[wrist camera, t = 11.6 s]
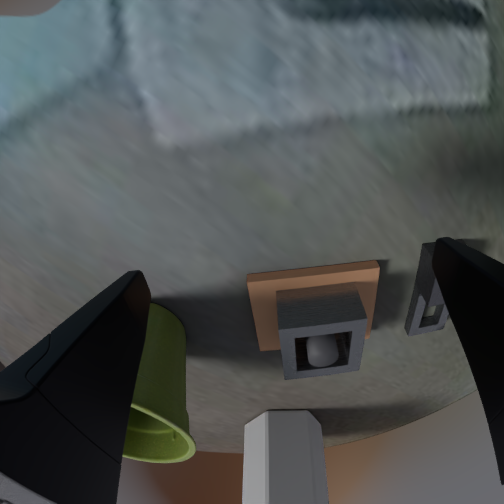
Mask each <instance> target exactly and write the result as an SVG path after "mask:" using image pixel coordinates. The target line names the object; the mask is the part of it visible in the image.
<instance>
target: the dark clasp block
mask: <svg viewBox="0 0 504 504" xmlns="http://www.w3.org/2000/svg"><path fill="white" fill-rule="evenodd" d="M456 241H458V242H460V243H462V244H465V242H464V241H463V240H462V239H459V240H456ZM465 245H466V244H465ZM434 247H435V242H434V243H426V244H422V250H421V256H420V261H419V266H418V271H417V276H416V281H415V286H414V290H413V295H412V299H411V303H410V308H409V312H408V316H407V319H406V323H405V327H404V328H405V330H406V332H407V335H408V336H413V335H418V334H422V333H427V332H432V331H436V330H441V329H443V328H444V325H445V323H446V320H447V317H448V314H449V313H448V310H447V308H446V305H445V302H444V300H443V297H442V294H441V291H440V288H439V285H438V282H437V279H436V277H435V274H434V271H433V268H432V257H433V252H434ZM425 304H427V306H428V307H430V306H435V305H437V306H436V309H435V312H434V316H430V317H425V318H422V315H423V311H424V308H425Z"/></svg>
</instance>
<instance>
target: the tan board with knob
mask: <svg viewBox="0 0 504 504" xmlns="http://www.w3.org/2000/svg"><path fill="white" fill-rule="evenodd" d="M379 271H380V267H379V265H378V263H377V261H376V260H372V261H364V262H356V263H347V264H338V265H330V266H321V267H312V268H303V269H293V270H284V271H274V272H265V273H255V274H247V285H248V291H249V296H250V301H251V307H252V312H253V317H254V322H255V327H256V333H257V338H258V343H259V348H260V351H269V350H280V349H281V346H280V339H279V331H278V315H277V300H276V291H278V290H287V289H296V288H305V287H314V286H322V285H330V284H339V283H346V282H355V284H356V287H357V290H358V293H359V295H360V298H361V301H362V304H363V306H364V309H365V312H366V315H367V318H368V320H367V327H366V333H365V339H368V338H369V337H370V332H371V326H372V320H373V314H374V307H375V301H376V294H377V286H378V279H379ZM305 339H306V346H307V354H308V361H309V363H310V364H311V365H313V366H316V367H325V366H329V365H331V364H333V363H334V362H336V361H337V359H338V357H339V353H338V349H337V344H336V340H335V335H334V333H333V334H326V335H318V336H309V337H305Z"/></svg>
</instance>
